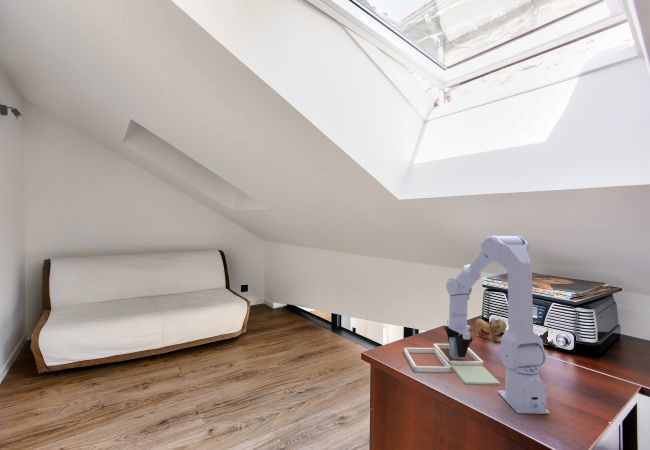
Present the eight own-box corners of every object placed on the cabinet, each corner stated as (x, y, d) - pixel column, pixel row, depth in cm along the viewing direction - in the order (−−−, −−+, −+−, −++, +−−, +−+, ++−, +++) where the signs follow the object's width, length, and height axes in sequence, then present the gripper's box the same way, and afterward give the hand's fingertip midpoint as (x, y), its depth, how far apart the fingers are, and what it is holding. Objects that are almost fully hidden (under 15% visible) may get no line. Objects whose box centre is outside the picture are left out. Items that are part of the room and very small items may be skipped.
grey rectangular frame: (451, 372, 98) (452, 367, 98) (414, 372, 98) (414, 367, 98) (435, 352, 112) (435, 348, 112) (403, 351, 113) (403, 347, 112)
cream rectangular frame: (484, 367, 102) (484, 362, 102) (448, 366, 102) (448, 361, 102) (464, 348, 116) (464, 344, 116) (433, 347, 116) (433, 343, 116)
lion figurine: (508, 342, 122) (509, 319, 122) (501, 345, 119) (502, 322, 119) (472, 331, 134) (473, 310, 134) (465, 333, 131) (466, 312, 131)
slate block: (465, 359, 107) (465, 341, 107) (453, 359, 107) (454, 341, 107) (460, 354, 111) (460, 337, 111) (449, 354, 111) (449, 337, 111)
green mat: (500, 384, 91) (500, 382, 91) (465, 384, 91) (465, 382, 91) (483, 368, 101) (483, 366, 101) (451, 367, 101) (451, 365, 101)
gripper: (480, 320, 101) (478, 361, 102) (460, 307, 116) (460, 343, 116) (458, 319, 101) (456, 361, 102) (441, 306, 116) (440, 343, 116)
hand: (457, 352), depth 109 cm, fingers open, 7 cm apart
